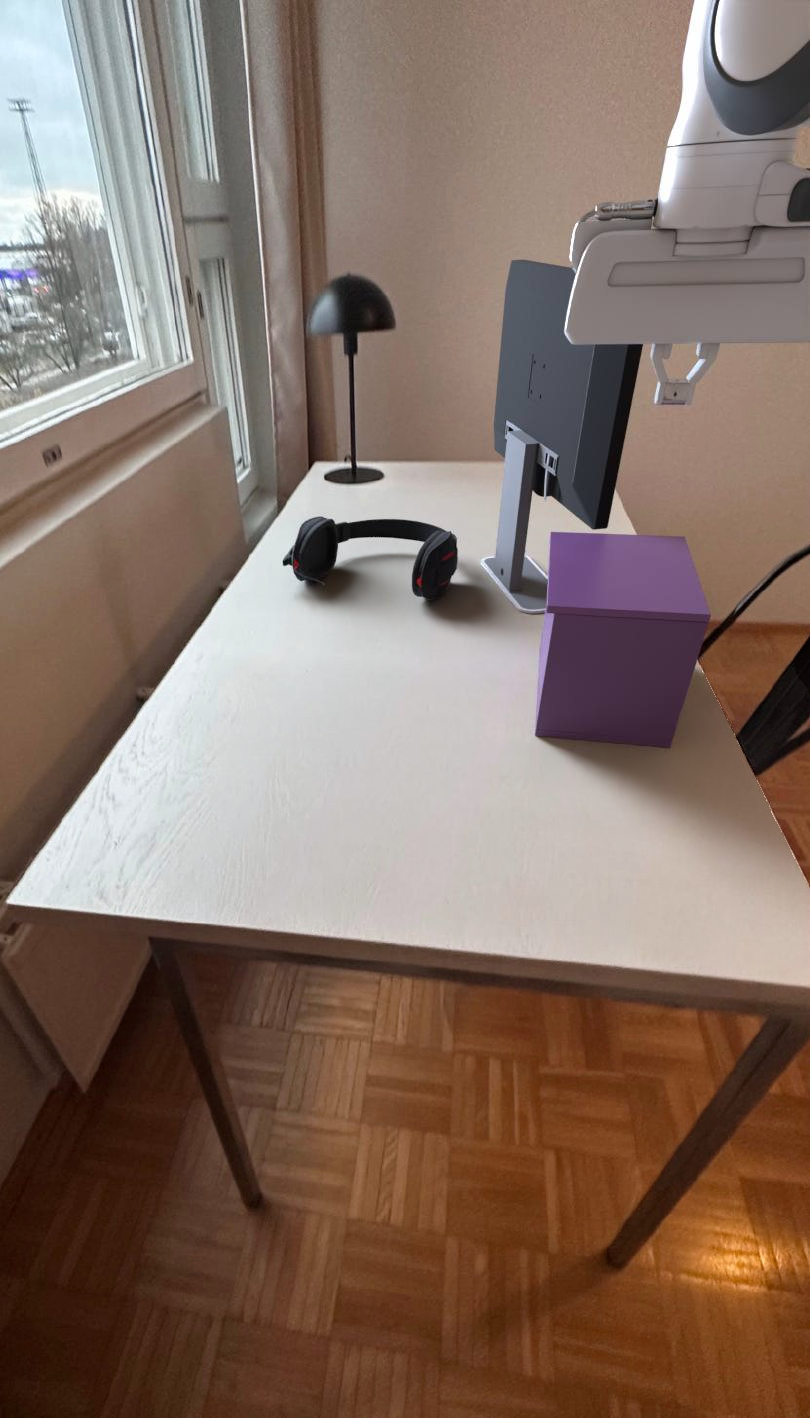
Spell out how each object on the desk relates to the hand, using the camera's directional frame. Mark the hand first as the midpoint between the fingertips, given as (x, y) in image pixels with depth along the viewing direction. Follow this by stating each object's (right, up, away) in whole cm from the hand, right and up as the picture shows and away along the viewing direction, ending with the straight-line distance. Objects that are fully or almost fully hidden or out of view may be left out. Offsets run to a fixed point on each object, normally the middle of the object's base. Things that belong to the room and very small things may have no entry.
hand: (671, 404), depth 65 cm
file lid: (+2, -9, +17) cm, 19 cm away
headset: (-25, +3, +56) cm, 61 cm away
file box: (+3, -21, +27) cm, 34 cm away
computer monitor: (0, +2, +53) cm, 53 cm away
